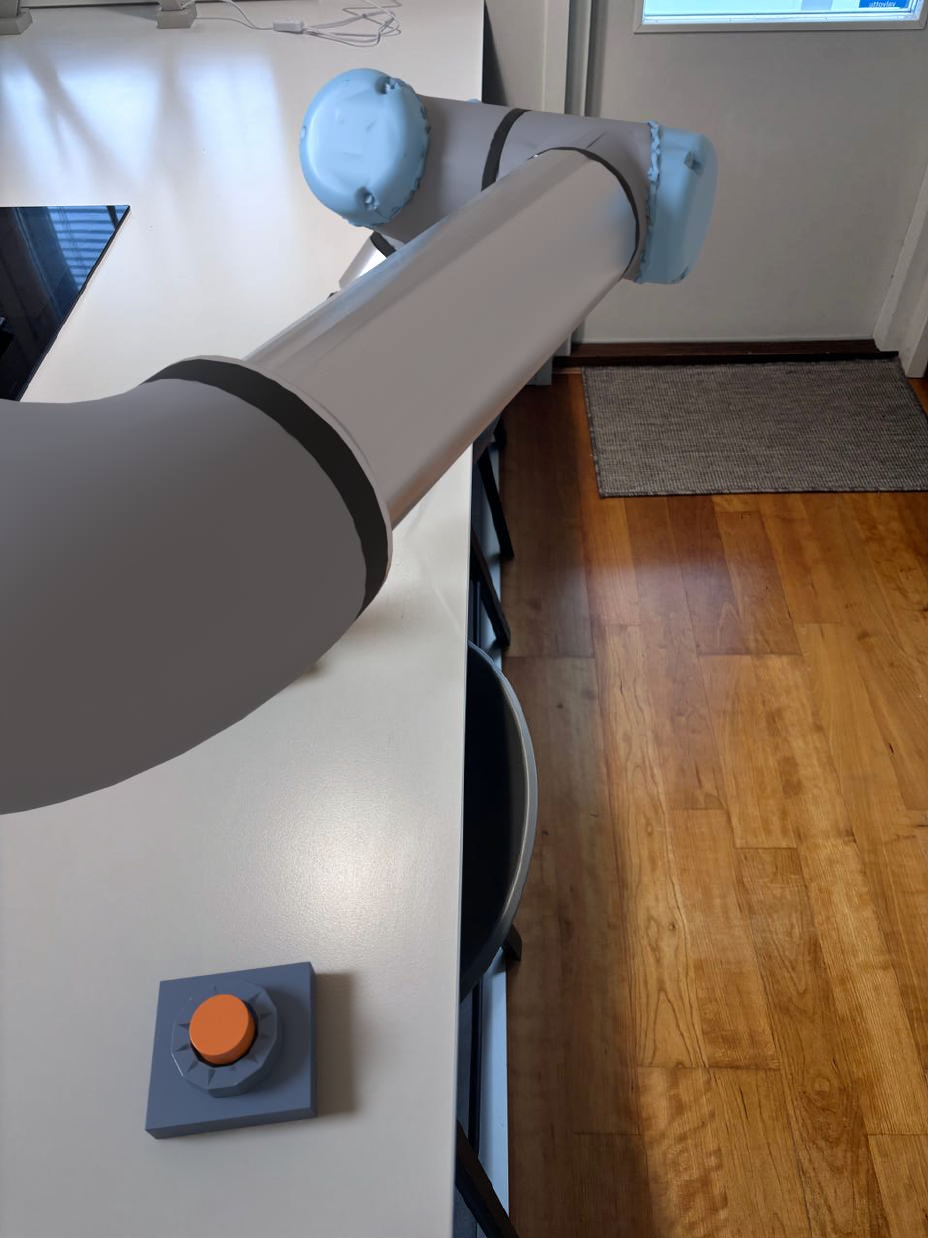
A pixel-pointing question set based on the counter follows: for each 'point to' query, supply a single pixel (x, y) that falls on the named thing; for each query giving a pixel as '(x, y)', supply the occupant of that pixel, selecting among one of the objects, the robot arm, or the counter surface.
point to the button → (222, 1029)
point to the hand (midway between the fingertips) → (224, 534)
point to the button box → (255, 1082)
